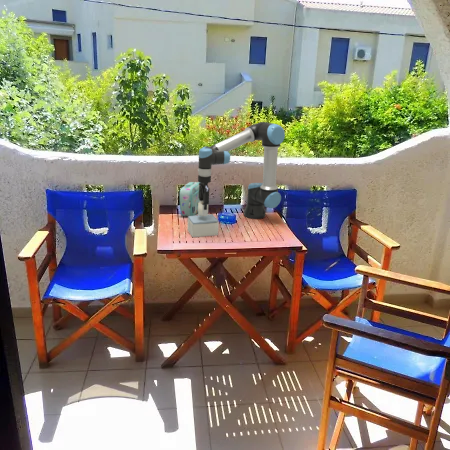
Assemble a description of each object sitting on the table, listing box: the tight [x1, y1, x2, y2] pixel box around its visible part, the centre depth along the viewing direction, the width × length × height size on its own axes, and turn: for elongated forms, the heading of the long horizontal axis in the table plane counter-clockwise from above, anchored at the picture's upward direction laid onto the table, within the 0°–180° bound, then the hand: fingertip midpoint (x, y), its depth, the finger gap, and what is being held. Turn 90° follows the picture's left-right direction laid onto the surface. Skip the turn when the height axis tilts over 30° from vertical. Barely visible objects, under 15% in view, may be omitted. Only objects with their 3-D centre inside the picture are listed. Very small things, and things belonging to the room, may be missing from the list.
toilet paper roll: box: [197, 202, 209, 216], centre depth 252 cm, size 6×6×7 cm
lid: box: [187, 213, 219, 224], centre depth 254 cm, size 16×12×1 cm
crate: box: [186, 217, 220, 238], centre depth 256 cm, size 16×12×8 cm
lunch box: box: [179, 181, 200, 217], centre depth 288 cm, size 27×10×21 cm, turn 168°
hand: (203, 212), depth 253 cm, fingers closed on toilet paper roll, 6 cm apart
